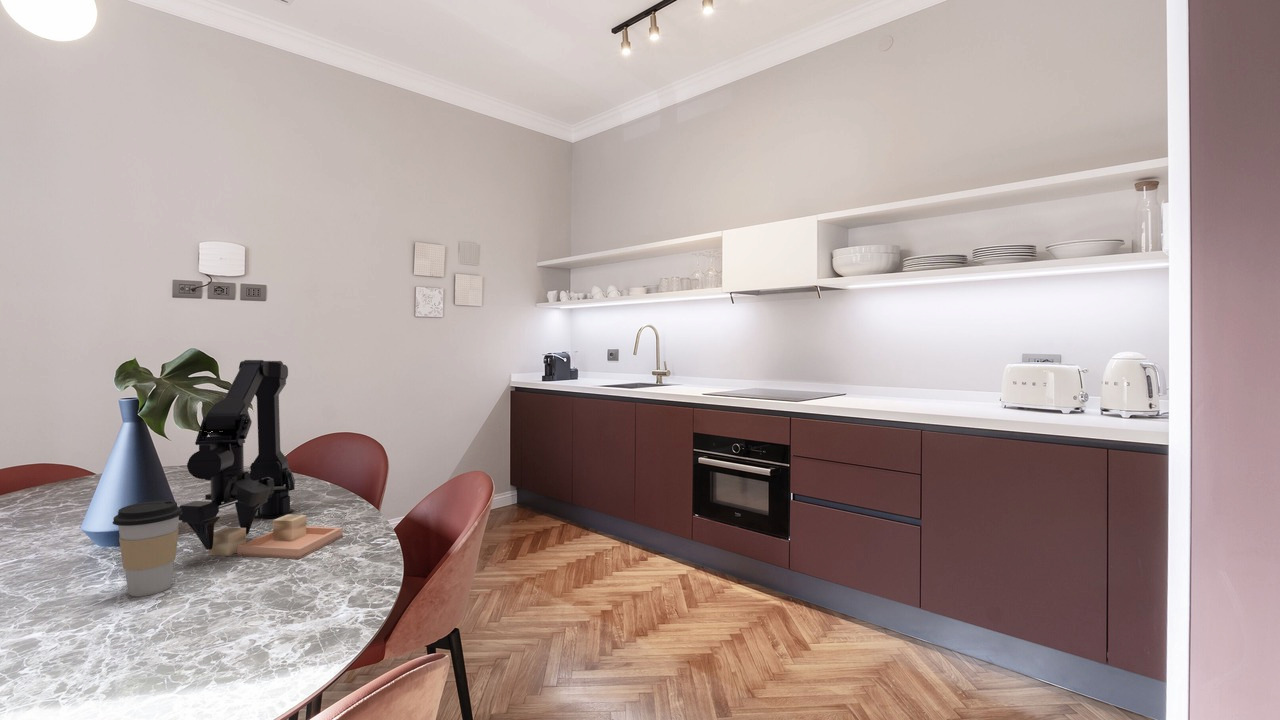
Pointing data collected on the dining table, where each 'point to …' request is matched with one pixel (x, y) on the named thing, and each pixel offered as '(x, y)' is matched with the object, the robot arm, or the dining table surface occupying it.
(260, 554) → the tray
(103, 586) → the dining table surface
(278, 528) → the block
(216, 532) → the block
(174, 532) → the coffee cup
